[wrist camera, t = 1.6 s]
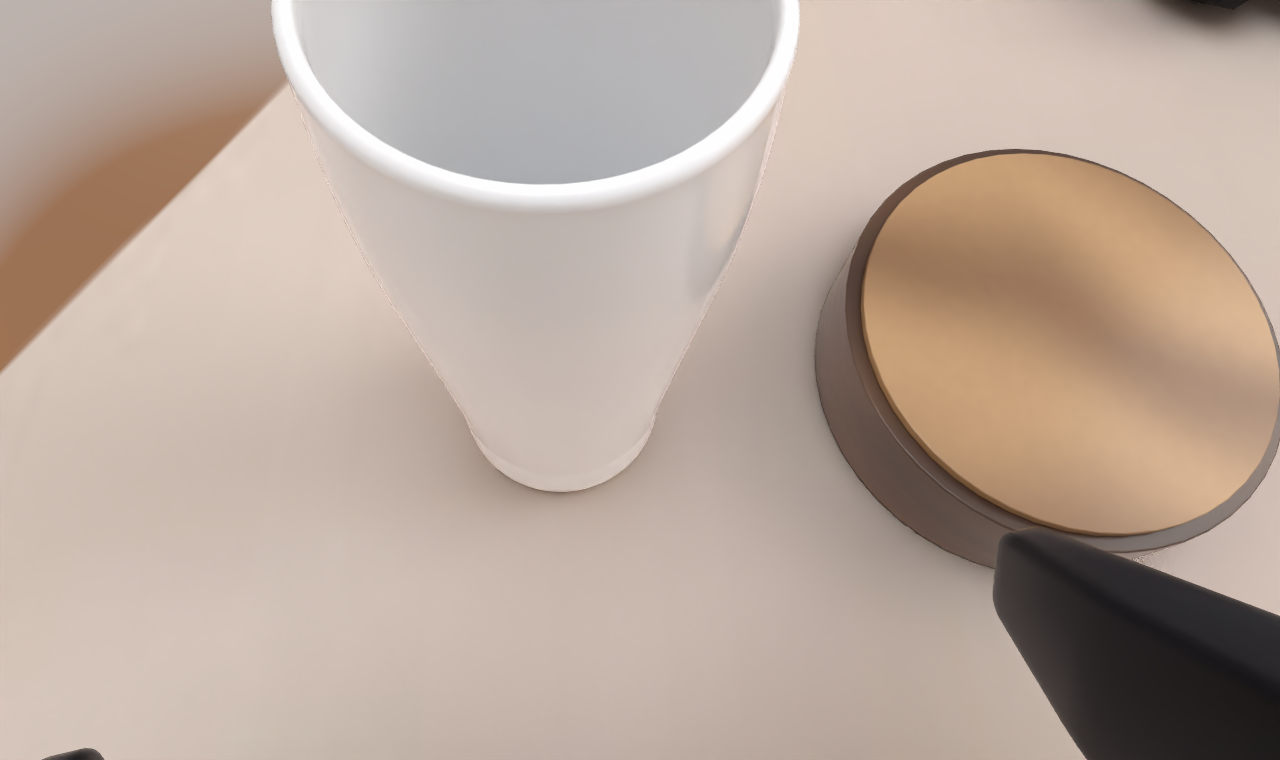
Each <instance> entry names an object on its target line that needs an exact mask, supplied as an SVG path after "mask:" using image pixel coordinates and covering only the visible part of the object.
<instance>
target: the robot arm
mask: <svg viewBox="0 0 1280 760" xmlns="http://www.w3.org/2000/svg"><path fill="white" fill-rule="evenodd" d="M993 601H994V606H995V609H996V612H997V614H998V616H999V618H1000V620H1001V622H1002V623H1003V625H1004V627H1005V628H1006V630H1007V632H1008V633H1009V635H1010V637H1011V638H1012V640H1013V642H1014V643H1015V645H1016V647H1017V648H1018V650H1019V652H1020V653H1021V655H1022V657H1023V658H1024V660H1025V662H1026V663H1027V665H1028V667H1029V668H1030V670H1031V672H1032V673H1033V675H1034V677H1035V678H1036V680H1037V682H1038V683H1039V685H1040V687H1041V688H1042V690H1043V692H1044V693H1045V695H1046V697H1047V698H1048V700H1049V702H1050V703H1051V705H1052V707H1053V708H1054V710H1055V712H1056V713H1057V715H1058V717H1059V718H1060V720H1061V722H1062V723H1063V725H1064V726H1065V728H1066V729H1067V731H1068V733H1069V734H1070V736H1071V737H1072V739H1073V740H1074V742H1075V743H1076V745H1077V746H1078V748H1079V749H1080V751H1081V752H1082V753H1083V755H1084V756H1085V758H1086V759H1087V760H1280V616H1279V615H1276V614H1273V613H1271V612H1268V611H1265V610H1263V609H1260V608H1257V607H1255V606H1252V605H1249V604H1246V603H1244V602H1241V601H1238V600H1236V599H1233V598H1230V597H1228V596H1225V595H1222V594H1220V593H1217V592H1214V591H1212V590H1209V589H1206V588H1204V587H1201V586H1198V585H1196V584H1193V583H1190V582H1188V581H1185V580H1182V579H1180V578H1177V577H1174V576H1172V575H1169V574H1166V573H1164V572H1161V571H1158V570H1156V569H1153V568H1150V567H1148V566H1145V565H1142V564H1140V563H1137V562H1134V561H1132V560H1129V559H1126V558H1124V557H1121V556H1118V555H1116V554H1113V553H1110V552H1108V551H1105V550H1102V549H1100V548H1097V547H1094V546H1092V545H1089V544H1086V543H1084V542H1081V541H1078V540H1076V539H1073V538H1070V537H1068V536H1065V535H1062V534H1060V533H1057V532H1054V531H1052V530H1049V529H1046V528H1043V527H1029V528H1025V529H1021V530H1016V531H1012V532H1008V533H1006V534H1004V535H1002V537H1001V538H1000V540H999V542H998V546H997V554H996V564H995V574H994V585H993ZM42 760H104V758H103V757H102V756H101V754H100V753H99V752H97V751H96V750H94V749H90V748H84V749H79V750H75V751H71V752H66V753H62V754H58V755H54V756H50V757H47V758H45V759H42Z"/></svg>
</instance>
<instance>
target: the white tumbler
mask: <svg viewBox="0 0 1280 760" xmlns="http://www.w3.org/2000/svg"><path fill="white" fill-rule="evenodd" d="M271 19H272V27H273V33H274V40H275V44H276V47H277V51H278V55H279V58H280V62H281V64H282V66H283V69H284V71H285V73H286V76H287V78H288V81H289V84H290V87H291V89H292V92H293V95H294V98H295V101H296V103H297V106H298V109H299V112H300V115H301V117H302V120H303V123H304V126H305V128H306V131H307V134H308V136H309V139H310V141H311V144H312V146H313V149H314V152H315V154H316V156H317V159H318V161H319V164H320V166H321V169H322V171H323V173H324V176H325V178H326V181H327V183H328V185H329V188H330V190H331V192H332V195H333V197H334V199H335V201H336V204H337V206H338V208H339V210H340V213H341V215H342V217H343V219H344V221H345V223H346V225H347V227H348V229H349V231H350V233H351V235H352V237H353V239H354V241H355V243H356V245H357V247H358V249H359V251H360V253H361V254H362V256H363V258H364V260H365V261H366V263H367V265H368V267H369V268H370V270H371V272H372V274H373V275H374V277H375V279H376V281H377V282H378V284H379V286H380V288H381V289H382V291H383V292H384V294H385V295H386V297H387V299H388V300H389V302H390V303H391V305H392V306H393V308H394V310H395V311H396V313H397V314H398V316H399V317H400V319H401V320H402V322H403V323H404V325H405V326H406V328H407V329H408V331H409V332H410V334H411V335H412V337H413V338H414V340H415V341H416V343H417V344H418V346H419V347H420V349H421V350H422V352H423V354H424V355H425V357H426V358H427V360H428V361H429V363H430V364H431V366H432V367H433V369H434V370H435V372H436V373H437V375H438V376H439V378H440V379H441V381H442V383H443V384H444V386H445V387H446V389H447V390H448V392H449V393H450V395H451V397H452V398H453V400H454V401H455V403H456V404H457V406H458V408H459V409H460V411H461V412H462V414H463V416H464V417H465V419H466V421H467V424H468V426H469V429H470V431H471V434H472V436H473V438H474V440H475V442H476V444H477V446H478V447H479V449H480V450H481V452H482V453H483V454H484V456H485V457H486V458H487V459H488V460H489V462H490V463H491V464H492V465H493V466H495V467H496V468H497V469H498V470H499V471H500V472H502V473H503V474H505V475H506V476H507V477H509V478H511V479H512V480H514V481H516V482H518V483H521V484H523V485H525V486H528V487H531V488H535V489H539V490H544V491H552V492H570V491H577V490H582V489H587V488H590V487H593V486H596V485H599V484H601V483H603V482H605V481H607V480H609V479H611V478H613V477H614V476H616V475H617V474H619V473H620V472H621V471H623V470H624V469H625V468H626V467H627V466H628V465H629V464H630V463H631V462H632V461H633V460H634V459H635V458H636V457H637V456H638V454H639V453H640V452H641V450H642V449H643V447H644V446H645V444H646V442H647V440H648V438H649V436H650V434H651V432H652V429H653V426H654V423H655V419H656V415H657V411H658V409H659V406H660V404H661V402H662V400H663V398H664V396H665V394H666V392H667V390H668V388H669V386H670V384H671V382H672V380H673V378H674V376H675V374H676V372H677V370H678V368H679V366H680V364H681V362H682V360H683V358H684V356H685V354H686V352H687V350H688V348H689V346H690V344H691V342H692V340H693V338H694V336H695V334H696V332H697V331H698V329H699V327H700V325H701V323H702V321H703V319H704V317H705V315H706V313H707V311H708V309H709V307H710V305H711V303H712V301H713V299H714V297H715V295H716V293H717V291H718V289H719V287H720V285H721V283H722V281H723V279H724V277H725V275H726V272H727V270H728V268H729V266H730V264H731V262H732V260H733V257H734V255H735V253H736V250H737V248H738V246H739V243H740V241H741V238H742V236H743V233H744V231H745V228H746V225H747V222H748V220H749V217H750V214H751V211H752V208H753V205H754V203H755V200H756V197H757V194H758V191H759V188H760V185H761V182H762V179H763V175H764V172H765V169H766V166H767V162H768V159H769V156H770V152H771V149H772V145H773V141H774V138H775V134H776V130H777V126H778V122H779V118H780V114H781V110H782V106H783V102H784V97H785V93H786V89H787V85H788V80H789V77H790V73H791V69H792V66H793V63H794V59H795V55H796V50H797V45H798V40H799V28H800V6H799V0H271Z"/></svg>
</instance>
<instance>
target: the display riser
mask: <svg viewBox="0 0 1280 760" xmlns="http://www.w3.org/2000/svg"><path fill="white" fill-rule="evenodd" d="M815 364H816V377H817V384H818V389H819V393H820V398H821V402H822V406H823V409H824V412H825V415H826V418H827V420H828V423H829V426H830V429H831V431H832V433H833V435H834V437H835V439H836V441H837V443H838V445H839V447H840V449H841V451H842V453H843V455H844V456H845V458H846V459H847V461H848V462H849V464H850V465H851V467H852V468H853V470H854V471H855V473H856V474H857V476H858V477H859V478H860V479H861V481H862V482H863V483H864V484H865V485H866V487H867V488H868V489H869V490H870V491H871V492H872V494H873V495H874V496H875V497H876V498H877V499H878V500H879V501H880V502H881V503H882V504H883V505H884V506H885V507H886V508H887V509H888V510H890V511H891V512H892V513H893V514H894V515H895V516H896V517H897V518H898V519H899V520H901V521H902V522H903V523H905V524H906V525H908V526H909V527H910V528H912V529H913V530H914V531H916V532H917V533H918V534H920V535H921V536H923V537H924V538H926V539H928V540H930V541H931V542H933V543H935V544H937V545H938V546H940V547H942V548H944V549H945V550H947V551H949V552H951V553H954V554H956V555H958V556H961V557H963V558H965V559H968V560H970V561H973V562H975V563H978V564H982V565H985V566H988V567H992V568H995V564H996V554H997V546H998V542H999V540H1000V538H1001V537H1002V535H1004V534H1006V533H1008V532H1012V531H1016V530H1021V529H1025V528H1029V527H1043V528H1046V529H1049V530H1052V531H1054V532H1057V533H1060V534H1062V535H1065V536H1068V537H1070V538H1073V539H1076V540H1078V541H1081V542H1084V543H1086V544H1089V545H1092V546H1094V547H1097V548H1100V549H1102V550H1105V551H1108V552H1110V553H1113V554H1116V555H1118V556H1121V557H1124V558H1126V559H1129V560H1130V559H1133V558H1136V557H1140V556H1143V555H1146V554H1149V553H1152V552H1155V551H1158V550H1162V549H1165V548H1168V547H1171V546H1174V545H1177V544H1180V543H1184V542H1186V541H1188V540H1190V539H1192V538H1195V537H1197V536H1199V535H1201V534H1203V533H1206V532H1208V531H1210V530H1211V529H1213V528H1214V527H1216V526H1217V525H1219V524H1220V523H1221V522H1223V521H1224V520H1226V519H1227V518H1229V517H1230V516H1232V515H1233V514H1234V513H1235V512H1236V511H1237V510H1238V509H1239V508H1240V507H1241V506H1242V505H1243V504H1244V503H1245V502H1246V501H1247V500H1248V499H1249V498H1250V497H1251V495H1252V494H1253V493H1254V491H1255V490H1256V489H1257V487H1258V486H1259V484H1260V483H1261V482H1262V480H1263V479H1264V477H1265V476H1266V474H1267V472H1268V469H1269V467H1270V465H1271V463H1272V461H1273V459H1274V457H1275V455H1276V452H1277V449H1278V445H1279V442H1280V349H1279V346H1278V342H1277V339H1276V336H1275V333H1274V330H1273V326H1272V324H1271V322H1270V320H1269V317H1268V315H1267V313H1266V311H1265V309H1264V306H1263V304H1262V302H1261V300H1260V298H1259V297H1258V295H1257V293H1256V292H1255V290H1254V288H1253V286H1252V285H1251V283H1250V281H1249V280H1248V278H1247V276H1246V275H1245V274H1244V272H1243V271H1242V270H1241V268H1240V267H1239V266H1238V264H1237V263H1236V262H1235V260H1234V259H1233V258H1232V256H1231V255H1230V254H1229V253H1228V252H1227V251H1226V249H1225V248H1224V247H1223V246H1222V245H1221V244H1220V243H1219V242H1218V241H1217V240H1216V239H1215V237H1214V236H1213V235H1212V234H1211V233H1210V232H1209V231H1208V230H1206V229H1205V228H1204V227H1203V226H1202V225H1201V224H1200V223H1199V222H1198V221H1196V220H1195V219H1194V218H1193V217H1192V216H1191V215H1190V214H1188V213H1187V212H1186V211H1184V210H1183V209H1182V208H1180V207H1179V206H1178V205H1176V204H1175V203H1174V202H1172V201H1171V200H1170V199H1168V198H1167V197H1165V196H1164V195H1162V194H1160V193H1159V192H1157V191H1155V190H1154V189H1152V188H1150V187H1149V186H1147V185H1145V184H1144V183H1142V182H1140V181H1138V180H1136V179H1134V178H1132V177H1130V176H1128V175H1125V174H1123V173H1121V172H1119V171H1117V170H1114V169H1112V168H1109V167H1106V166H1104V165H1101V164H1098V163H1095V162H1093V161H1089V160H1085V159H1082V158H1078V157H1074V156H1070V155H1067V154H1060V153H1054V152H1048V151H1042V150H1025V149H1006V150H990V151H984V152H979V153H973V154H967V155H964V156H960V157H957V158H954V159H951V160H948V161H945V162H942V163H940V164H938V165H936V166H933V167H931V168H929V169H927V170H925V171H923V172H921V173H919V174H918V175H916V176H915V177H913V178H912V179H910V180H909V181H907V182H906V183H904V184H903V185H901V186H900V187H899V188H898V189H897V190H896V191H895V192H894V193H893V194H891V195H890V196H889V197H888V198H887V199H886V200H885V201H884V202H883V203H882V205H881V206H880V207H879V208H878V210H877V211H876V212H875V213H874V215H873V216H872V217H871V218H870V220H869V222H868V224H867V225H866V227H865V229H864V231H863V232H862V234H861V236H860V238H859V239H858V241H857V243H856V245H855V246H854V248H853V250H852V252H851V254H850V255H849V257H848V259H847V261H846V262H845V264H844V266H843V268H842V269H841V271H840V273H839V275H838V277H837V278H836V280H835V282H834V284H833V285H832V287H831V289H830V291H829V293H828V295H827V298H826V301H825V303H824V306H823V309H822V311H821V315H820V320H819V324H818V329H817V334H816V349H815Z"/></svg>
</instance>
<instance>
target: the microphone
mask: <svg viewBox="0 0 1280 760" xmlns="http://www.w3.org/2000/svg"><path fill="white" fill-rule="evenodd" d="M1193 1H1197V2H1201V3H1205V4H1209V5H1213V6H1218V7H1223V8H1229V9H1235V8H1236V7H1238V6H1240V5H1242V4H1243V3H1245V2H1247V1H1248V0H1193Z"/></svg>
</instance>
